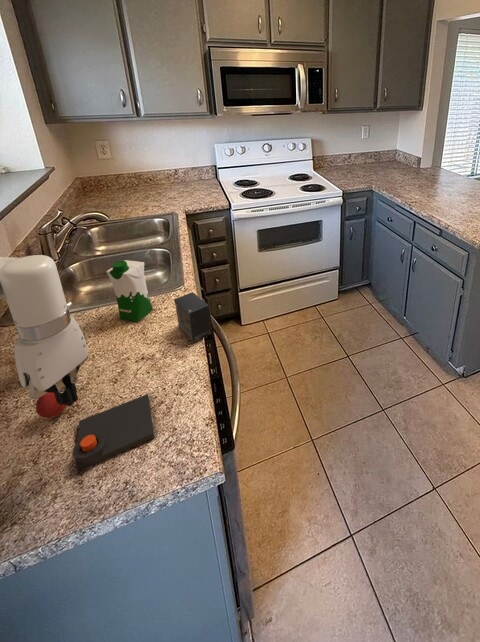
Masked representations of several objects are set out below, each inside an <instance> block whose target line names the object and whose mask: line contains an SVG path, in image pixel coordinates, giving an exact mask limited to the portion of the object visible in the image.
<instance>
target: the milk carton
mask: <svg viewBox="0 0 480 642" xmlns="http://www.w3.org/2000/svg"><path fill="white" fill-rule="evenodd" d="M105 272H106V274H107V276H108V278H109V280H110V281H111V284H112V288H113V291H114V296H115V300H116V303H117V309H118V314H119V315H118V316H119V320H122V321H127V322H134V323H139V322H140V321H141V320H142V319H144V318H145V317H146V316H147V315H148V314H150V313H151V312H152V311H154V309H153V304H152V302H151V299H150V295H149V292H148V291H149V290H148V286H147V282H146V277H145V262H144V261H138V260H137V261H136V260H128V259H124V260H119V261H115V262H114V263H112V264H111V268H109V269H108V270H106V271H105Z"/></svg>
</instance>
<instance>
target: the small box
mask: <svg viewBox="0 0 480 642" xmlns="http://www.w3.org/2000/svg"><path fill="white" fill-rule="evenodd" d="M173 302H174V306H175V312H176V318H177V324H178V328H179V330H180V331H181V332H182V333H183V334H184V335H185V337H187V338H188V340H189V341H190V342H191V343H192V344H194V343H196V342H199V341H201V340H203V339H205V338H207V337H209V336H211V335H212V334H213V332H212V324H211V319H210V317H211V316H210V310H209V304H208V303H206V302H205V301H204V300H203V299H201V297H200V296H198V295H197V294H196V293H195V292H193V291H192V292H188V293H186V294H184V295H182V296H179V297H176V298H174V299H173Z"/></svg>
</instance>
